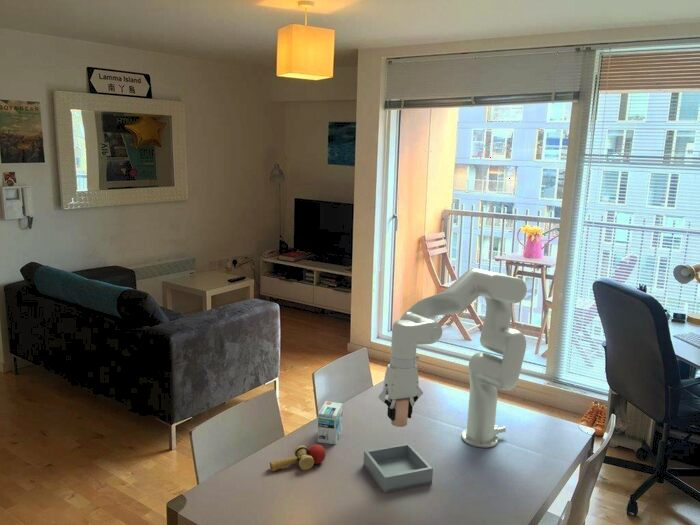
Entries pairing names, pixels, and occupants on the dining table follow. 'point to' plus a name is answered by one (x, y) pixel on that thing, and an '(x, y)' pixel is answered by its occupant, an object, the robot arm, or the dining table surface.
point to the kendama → (302, 458)
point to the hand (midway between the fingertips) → (399, 417)
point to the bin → (397, 467)
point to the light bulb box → (330, 422)
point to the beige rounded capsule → (401, 412)
